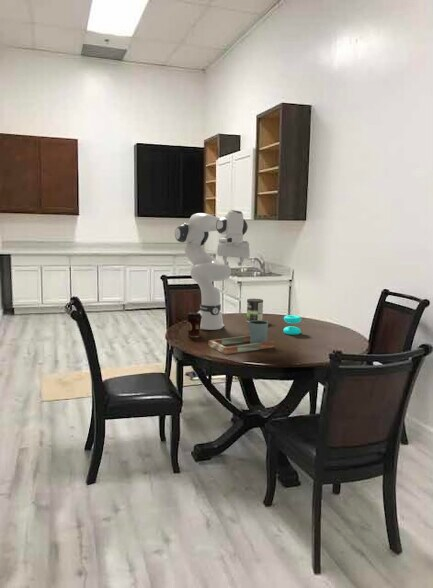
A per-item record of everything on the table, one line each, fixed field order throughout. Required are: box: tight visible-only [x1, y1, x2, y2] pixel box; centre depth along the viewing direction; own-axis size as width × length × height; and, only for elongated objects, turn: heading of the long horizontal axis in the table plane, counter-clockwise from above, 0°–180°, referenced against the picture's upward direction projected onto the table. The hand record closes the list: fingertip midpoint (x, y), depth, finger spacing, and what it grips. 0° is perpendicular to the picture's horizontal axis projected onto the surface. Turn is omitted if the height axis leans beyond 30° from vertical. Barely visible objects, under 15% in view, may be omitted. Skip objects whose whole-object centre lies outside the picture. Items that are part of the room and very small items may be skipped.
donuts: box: [283, 314, 302, 336], centre depth 281 cm, size 10×10×10 cm
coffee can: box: [246, 298, 264, 323], centre depth 312 cm, size 10×10×14 cm
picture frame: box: [207, 334, 275, 355], centre depth 251 cm, size 17×29×3 cm, turn 120°
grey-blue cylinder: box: [248, 319, 269, 344], centre depth 255 cm, size 10×10×12 cm
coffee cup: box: [185, 311, 202, 338], centre depth 271 cm, size 9×8×13 cm
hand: (233, 265), depth 267 cm, fingers open, 8 cm apart
